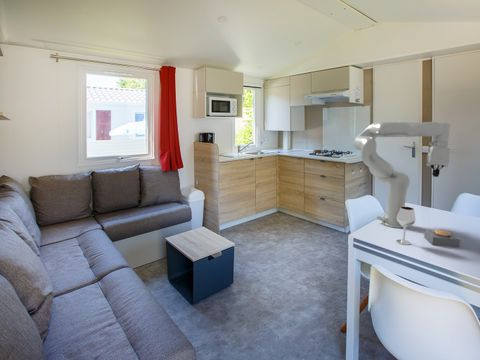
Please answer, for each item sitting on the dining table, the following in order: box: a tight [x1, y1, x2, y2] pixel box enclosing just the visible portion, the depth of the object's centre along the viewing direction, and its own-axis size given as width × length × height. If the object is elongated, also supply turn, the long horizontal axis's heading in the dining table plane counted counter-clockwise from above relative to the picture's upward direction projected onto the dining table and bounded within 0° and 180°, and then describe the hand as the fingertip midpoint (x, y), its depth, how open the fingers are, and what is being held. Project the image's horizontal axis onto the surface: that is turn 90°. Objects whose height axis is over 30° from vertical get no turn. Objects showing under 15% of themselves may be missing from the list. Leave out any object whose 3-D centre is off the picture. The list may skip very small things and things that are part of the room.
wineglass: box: [396, 206, 416, 246], centre depth 148 cm, size 8×8×18 cm
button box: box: [423, 229, 461, 248], centre depth 150 cm, size 12×10×4 cm
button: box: [433, 229, 452, 237], centre depth 150 cm, size 7×7×5 cm
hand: (435, 176), depth 171 cm, fingers closed
